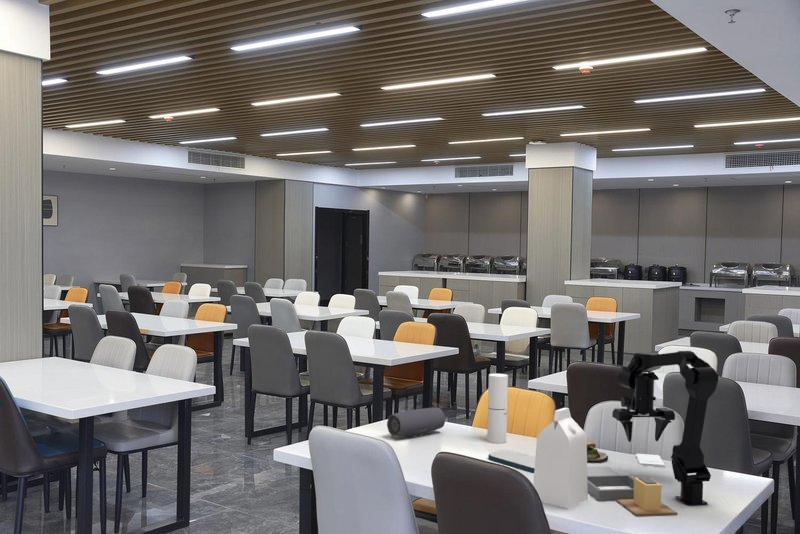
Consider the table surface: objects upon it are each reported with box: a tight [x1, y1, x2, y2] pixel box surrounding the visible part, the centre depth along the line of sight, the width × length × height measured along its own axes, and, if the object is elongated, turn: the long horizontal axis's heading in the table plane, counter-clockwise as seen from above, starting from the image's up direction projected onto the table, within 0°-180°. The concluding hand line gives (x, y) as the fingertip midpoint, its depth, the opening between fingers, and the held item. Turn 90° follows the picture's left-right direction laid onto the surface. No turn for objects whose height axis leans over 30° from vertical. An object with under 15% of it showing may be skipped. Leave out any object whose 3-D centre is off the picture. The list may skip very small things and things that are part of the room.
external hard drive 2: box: [635, 453, 666, 469], centre depth 254 cm, size 2×8×12 cm
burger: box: [587, 440, 609, 462], centre depth 257 cm, size 12×12×8 cm
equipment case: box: [587, 465, 635, 502], centre depth 227 cm, size 28×16×3 cm, turn 9°
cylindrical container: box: [486, 373, 509, 444], centre depth 278 cm, size 7×7×25 cm
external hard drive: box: [488, 449, 536, 474], centre depth 249 cm, size 24×12×2 cm, turn 41°
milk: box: [532, 407, 589, 510], centre depth 213 cm, size 12×12×26 cm
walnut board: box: [616, 499, 678, 517], centre depth 207 cm, size 12×12×1 cm
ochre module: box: [633, 476, 662, 511], centre depth 206 cm, size 7×4×7 cm, turn 8°
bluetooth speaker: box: [386, 407, 446, 438], centre depth 285 cm, size 23×9×10 cm, turn 130°
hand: (643, 441), depth 234 cm, fingers open, 9 cm apart
